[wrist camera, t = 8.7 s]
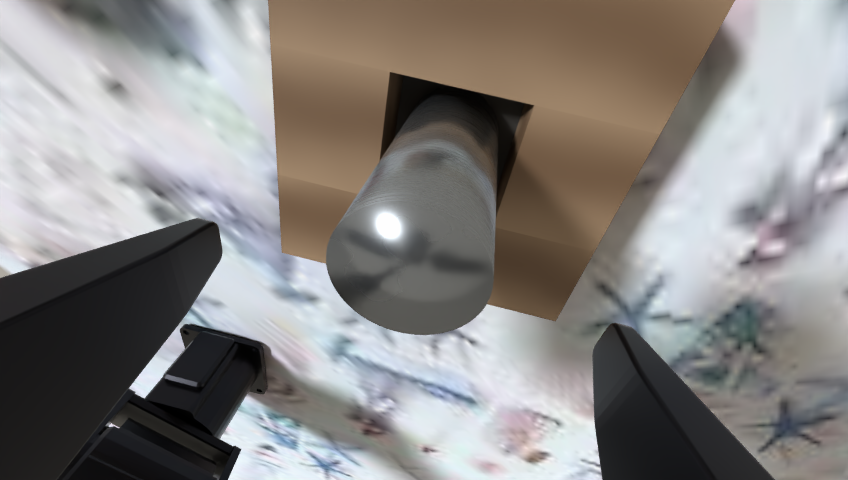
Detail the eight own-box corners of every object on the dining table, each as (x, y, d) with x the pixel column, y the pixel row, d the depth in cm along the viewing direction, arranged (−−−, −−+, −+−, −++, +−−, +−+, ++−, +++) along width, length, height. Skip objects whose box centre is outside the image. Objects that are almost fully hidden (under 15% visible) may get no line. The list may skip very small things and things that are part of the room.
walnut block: (548, 275, 22) (555, 321, 19) (310, 216, 22) (281, 252, 19) (694, -19, 13) (744, -18, 11) (310, -102, 14) (261, -122, 11)
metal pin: (484, 182, 18) (469, 350, 10) (403, 163, 18) (324, 313, 10) (510, 98, 16) (517, 227, 8) (416, 76, 16) (328, 181, 8)
